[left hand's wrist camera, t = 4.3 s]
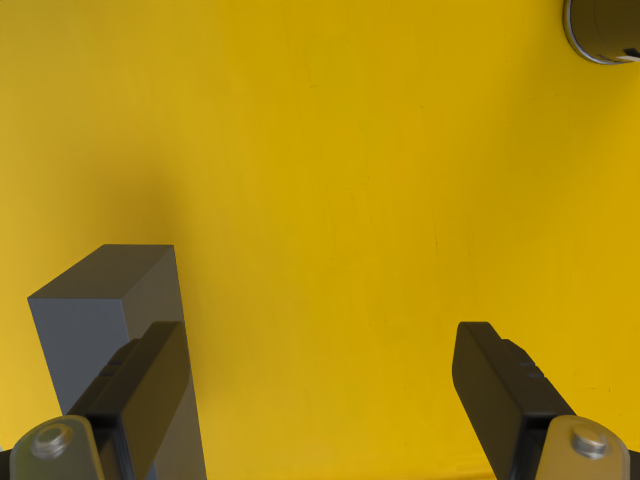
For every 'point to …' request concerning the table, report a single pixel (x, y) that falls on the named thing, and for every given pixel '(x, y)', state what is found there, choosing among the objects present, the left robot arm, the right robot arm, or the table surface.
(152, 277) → the long box
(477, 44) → the table surface
